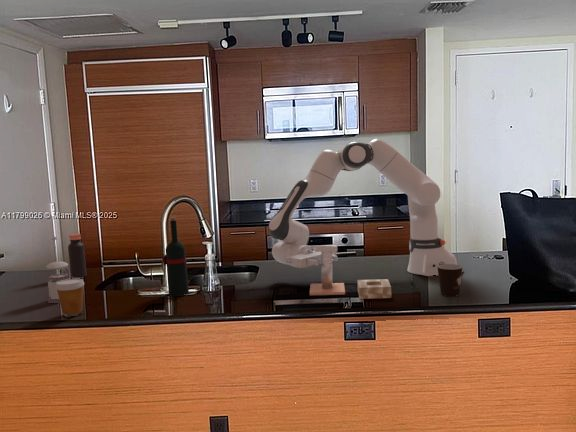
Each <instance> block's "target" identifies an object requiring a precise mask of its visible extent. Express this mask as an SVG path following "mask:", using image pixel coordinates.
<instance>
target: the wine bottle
mask: <svg viewBox="0 0 576 432" xmlns="http://www.w3.org/2000/svg"><path fill="white" fill-rule="evenodd" d="M170 232H171V233H170V234H171V242H169V243H168V244H167V245H166V247H165V254H164V255H163V256H162V263H163V279H162V282H161V283H164V281H165V278H166V277H167V286H168V288H167V289H168V296H169V295H171V296H170V297H181V296H180V295H183V296H185V295H184V294H187V293H188V292H189V293H190V291H189V280H188V279H189V277H188V267H187V265H188V263H187V255H186V252H187V251H186V246H185V245H184V244H183V243H182V242H181V241H179V239H178V225H177V220H176V216H171V217H170ZM166 273H167V275H166ZM189 293H188V294H189ZM188 294H187V295H188Z"/></svg>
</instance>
